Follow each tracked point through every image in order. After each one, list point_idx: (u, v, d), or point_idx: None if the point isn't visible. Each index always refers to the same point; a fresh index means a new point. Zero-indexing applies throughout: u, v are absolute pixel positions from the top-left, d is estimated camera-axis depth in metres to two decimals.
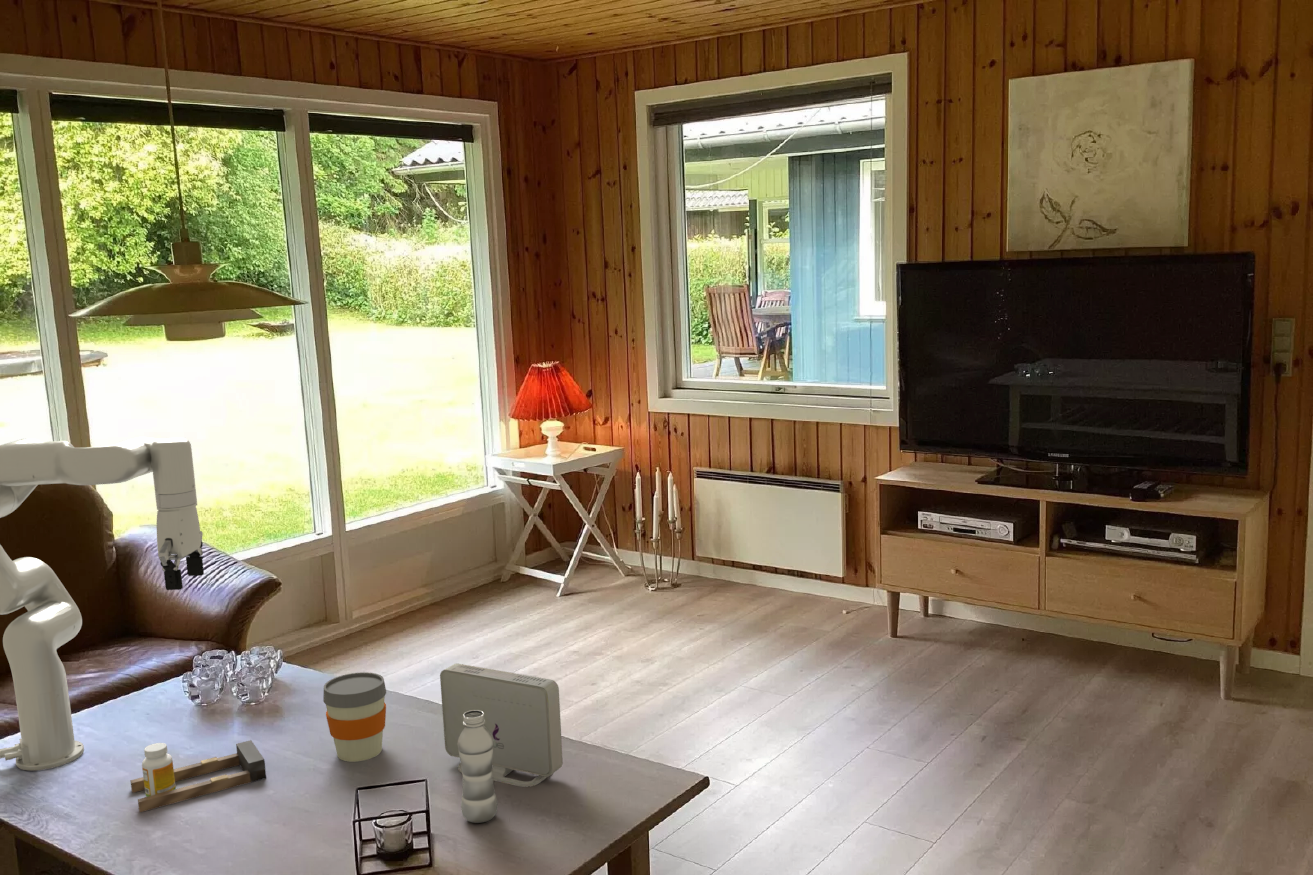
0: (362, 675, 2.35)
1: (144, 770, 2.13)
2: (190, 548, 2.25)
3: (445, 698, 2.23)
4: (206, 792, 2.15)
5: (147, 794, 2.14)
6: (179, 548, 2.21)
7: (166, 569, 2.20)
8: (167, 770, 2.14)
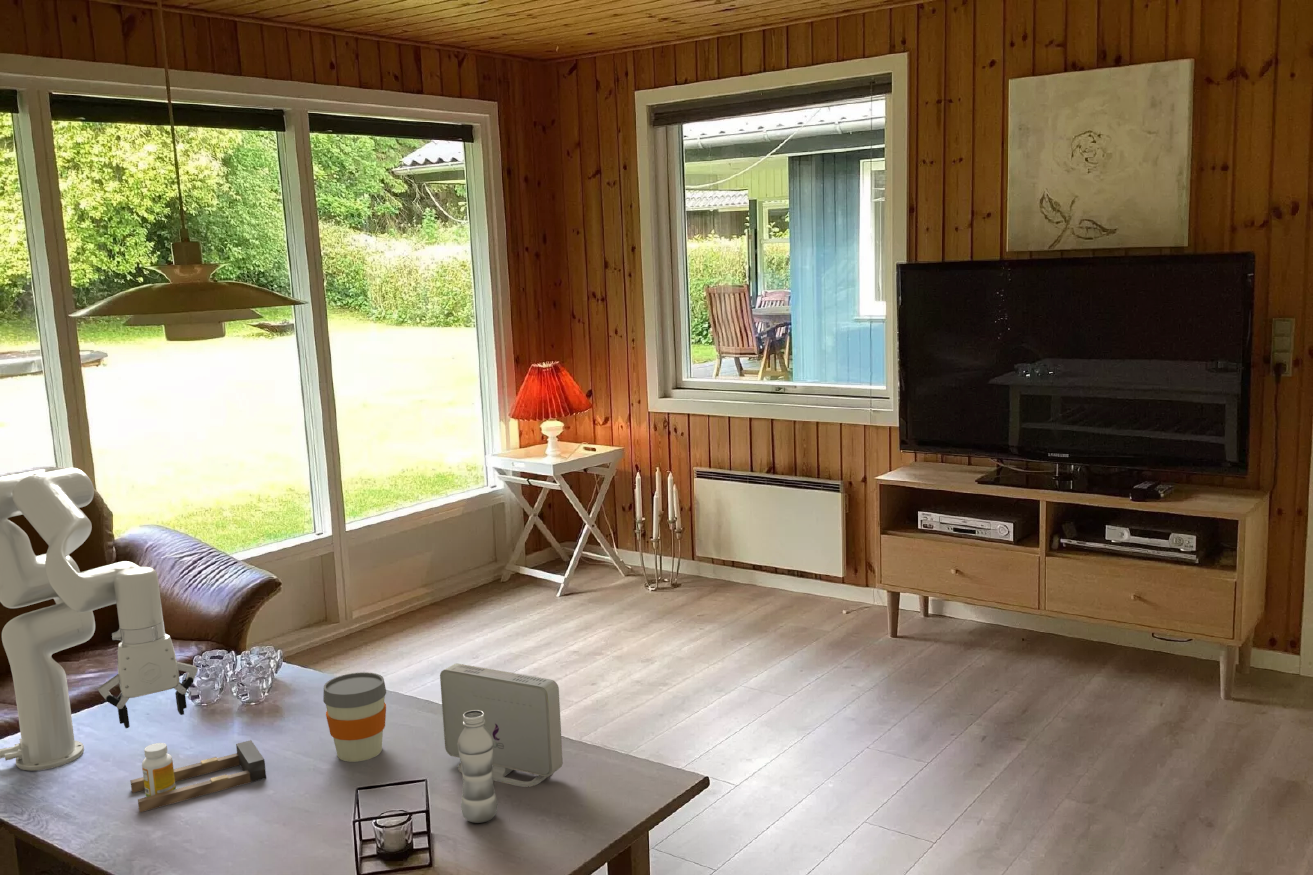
0: (362, 675, 2.35)
1: (144, 770, 2.13)
2: None
3: (445, 698, 2.23)
4: (206, 792, 2.15)
5: (147, 794, 2.14)
6: None
7: None
8: (167, 770, 2.14)
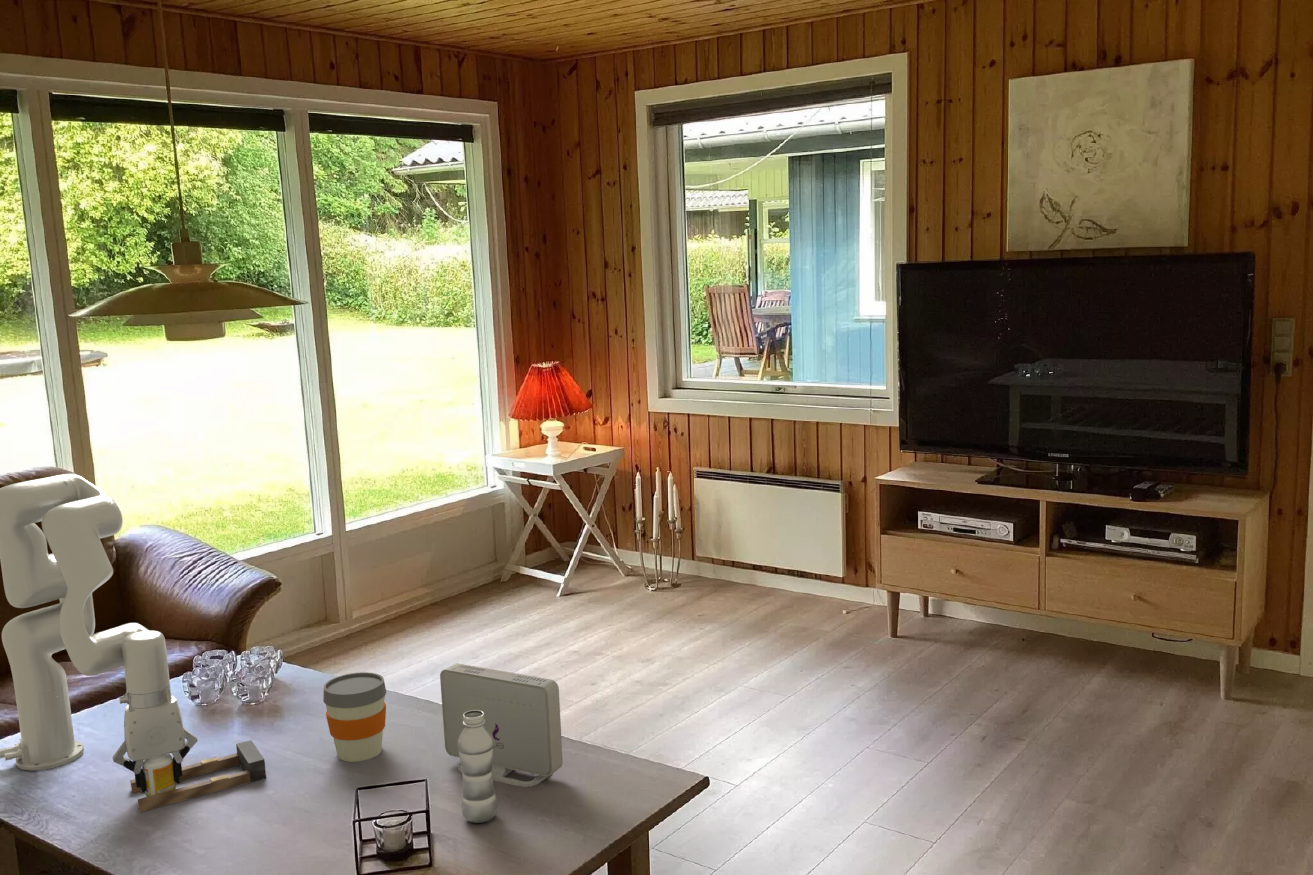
0: (362, 675, 2.35)
1: (144, 770, 2.13)
2: None
3: (445, 698, 2.23)
4: (206, 792, 2.15)
5: (147, 794, 2.14)
6: None
7: None
8: (167, 770, 2.14)
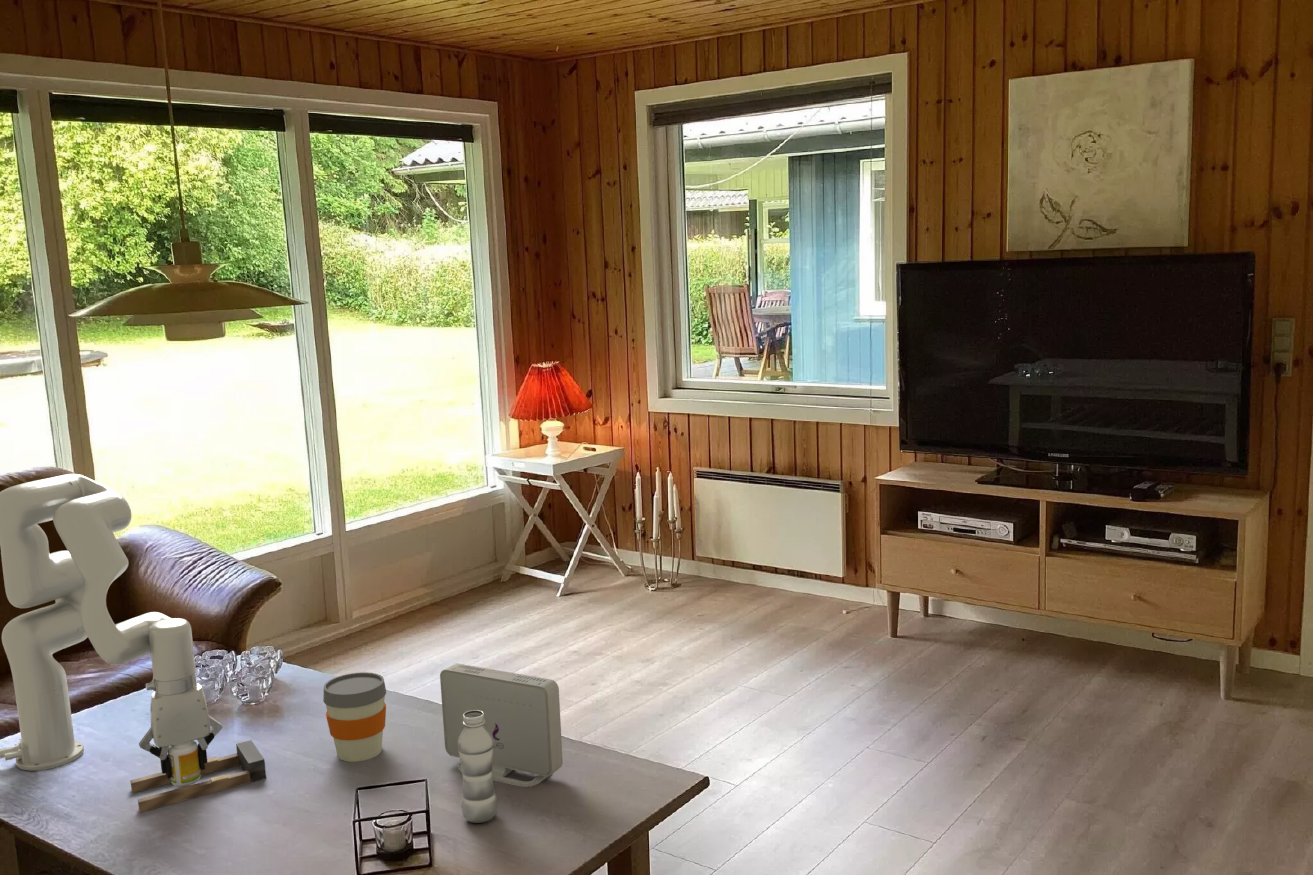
0: (362, 675, 2.35)
1: (169, 756, 2.16)
2: None
3: (445, 698, 2.23)
4: (206, 792, 2.15)
5: (173, 780, 2.16)
6: None
7: None
8: (192, 756, 2.16)
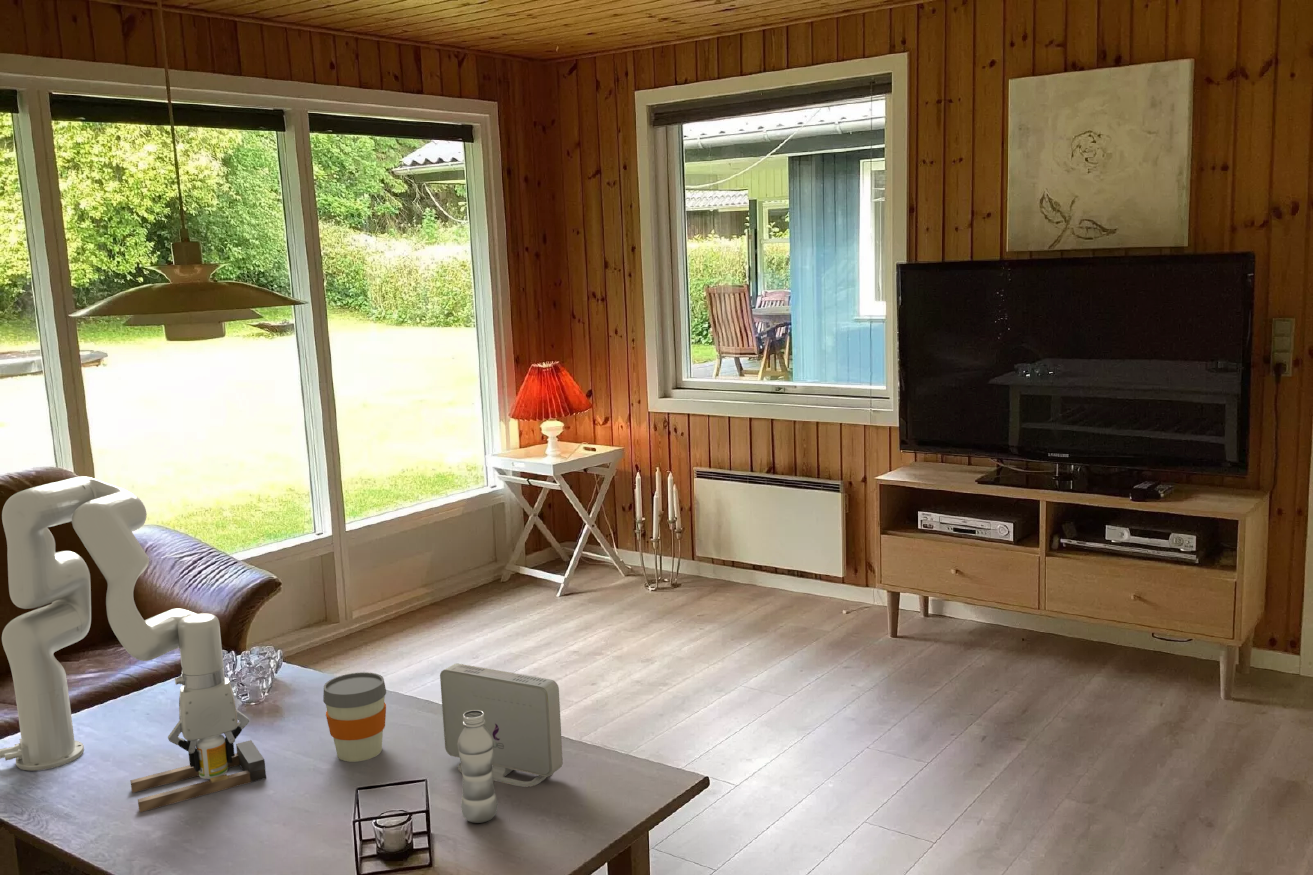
0: (362, 675, 2.35)
1: (198, 750, 2.18)
2: None
3: (445, 698, 2.23)
4: (206, 792, 2.15)
5: (201, 773, 2.19)
6: None
7: None
8: (220, 749, 2.19)
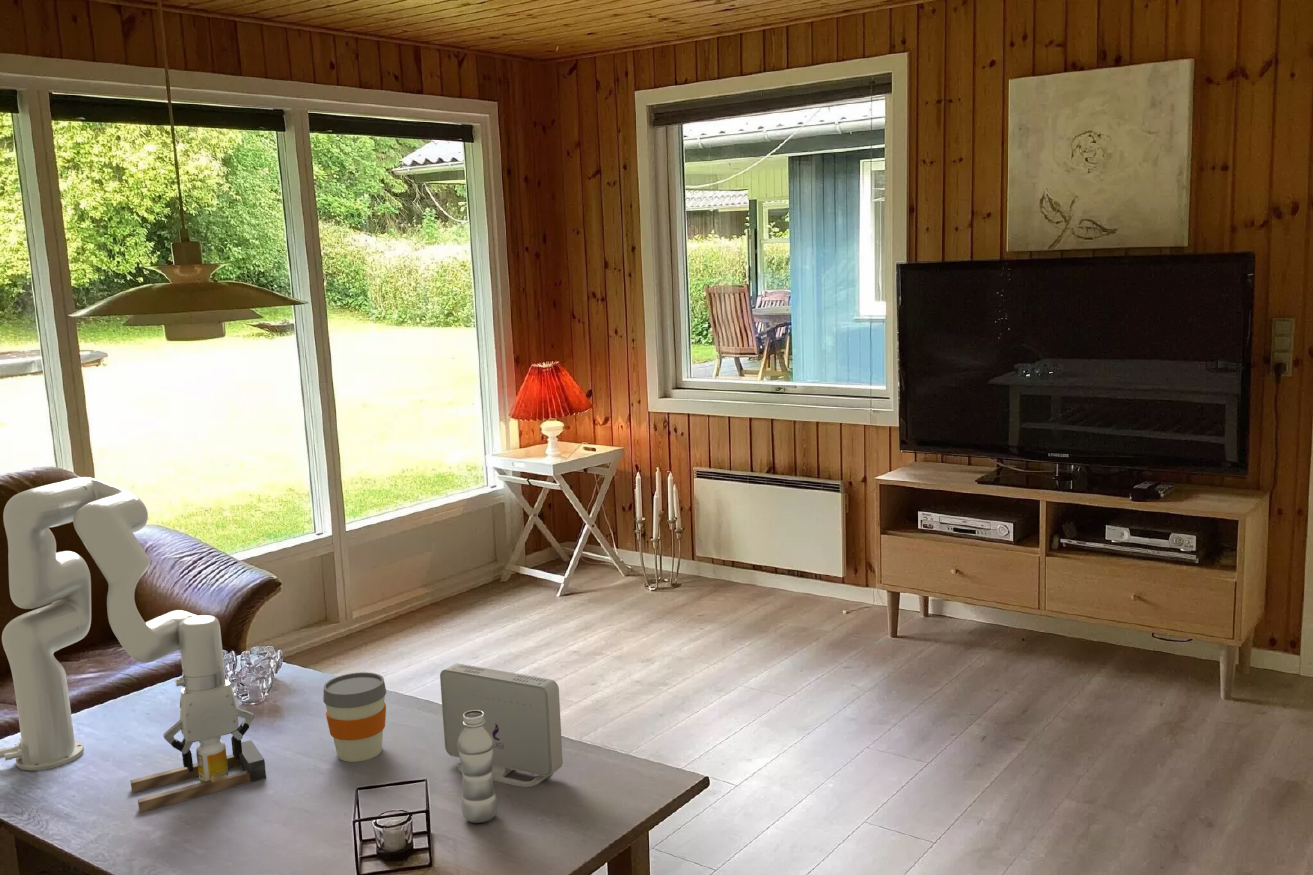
0: (362, 675, 2.35)
1: (198, 756, 2.19)
2: None
3: (445, 698, 2.23)
4: (206, 792, 2.15)
5: (201, 779, 2.19)
6: None
7: None
8: (221, 756, 2.19)
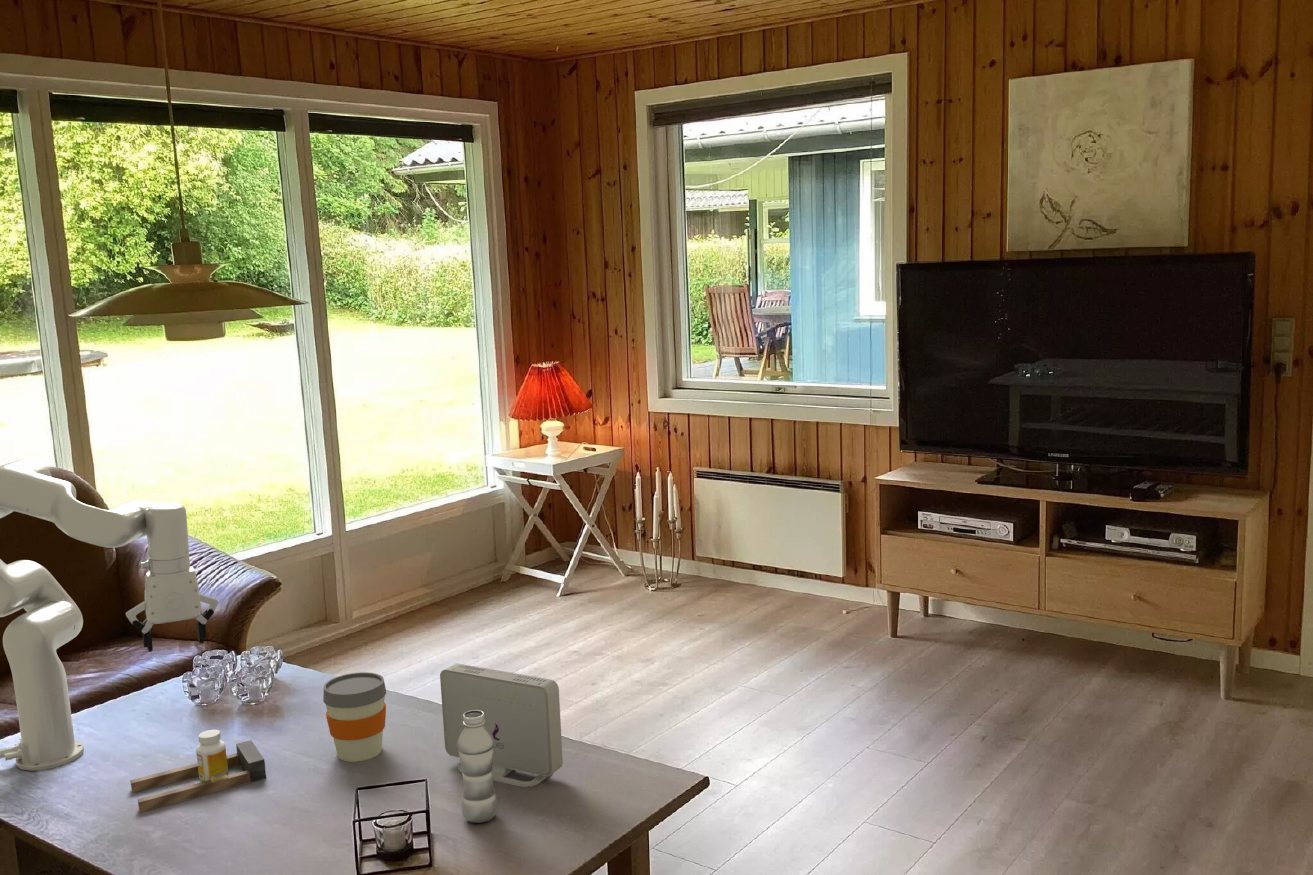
0: (362, 675, 2.35)
1: (198, 756, 2.19)
2: None
3: (445, 698, 2.23)
4: (206, 792, 2.15)
5: (201, 779, 2.19)
6: None
7: None
8: (221, 756, 2.19)
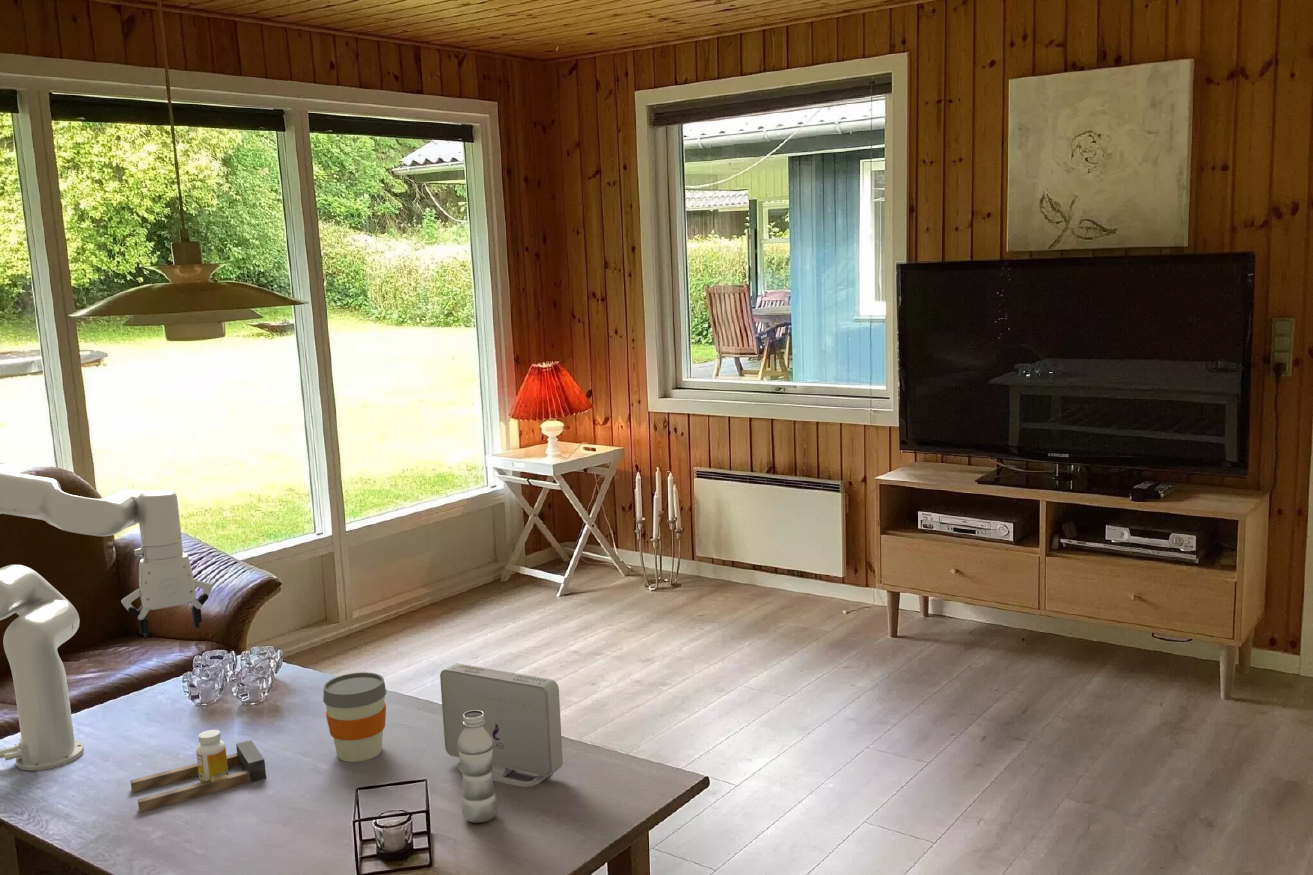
0: (362, 675, 2.35)
1: (198, 756, 2.19)
2: None
3: (445, 698, 2.22)
4: (206, 792, 2.15)
5: (201, 779, 2.19)
6: None
7: None
8: (221, 756, 2.19)
